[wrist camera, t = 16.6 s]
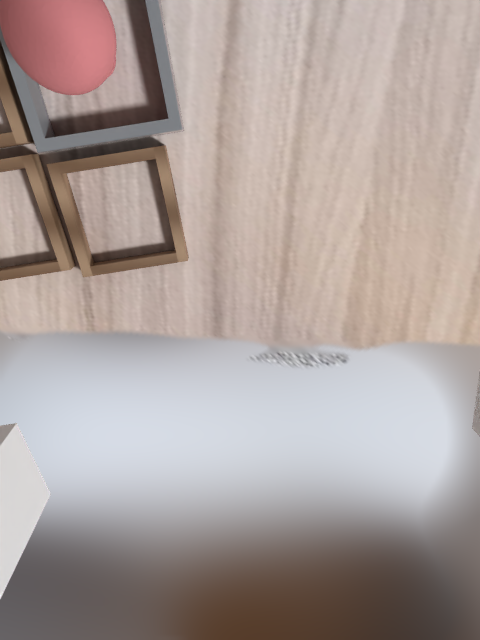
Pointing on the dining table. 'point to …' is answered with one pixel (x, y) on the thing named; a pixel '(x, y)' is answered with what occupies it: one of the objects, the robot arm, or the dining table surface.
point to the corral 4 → (75, 224)
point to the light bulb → (61, 42)
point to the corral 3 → (50, 143)
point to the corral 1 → (12, 108)
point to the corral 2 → (49, 218)
